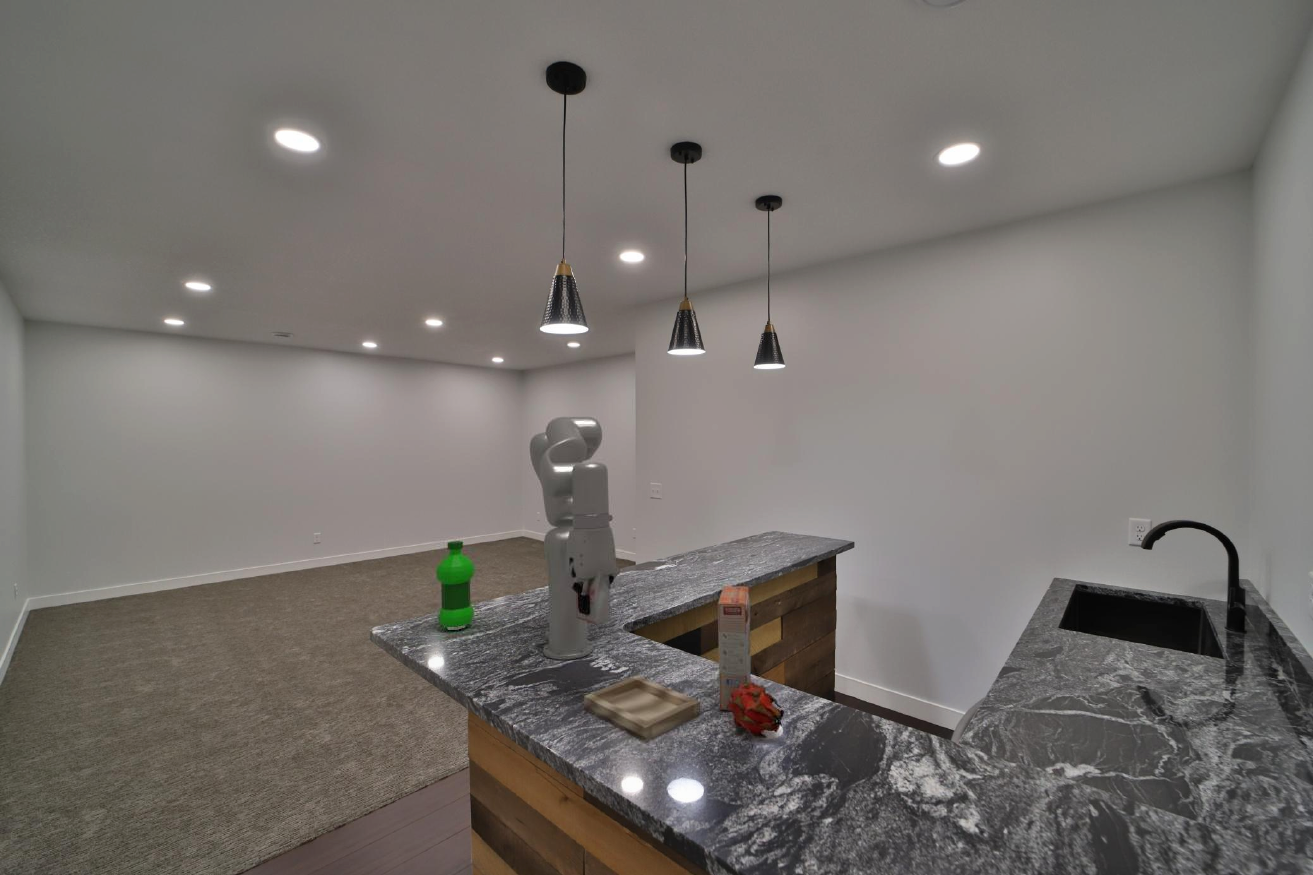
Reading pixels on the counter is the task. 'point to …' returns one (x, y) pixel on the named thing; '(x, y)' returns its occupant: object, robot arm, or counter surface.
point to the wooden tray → (642, 707)
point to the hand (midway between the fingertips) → (593, 610)
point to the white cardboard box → (597, 601)
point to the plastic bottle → (455, 587)
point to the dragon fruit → (755, 709)
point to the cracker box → (733, 641)
